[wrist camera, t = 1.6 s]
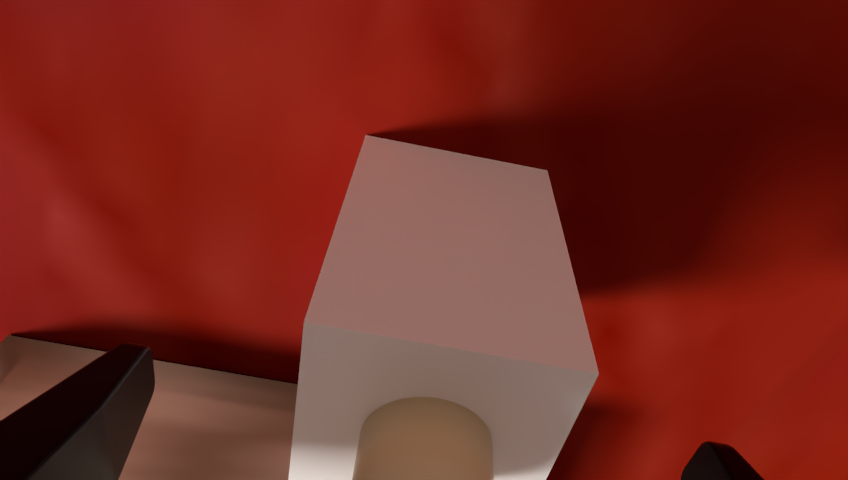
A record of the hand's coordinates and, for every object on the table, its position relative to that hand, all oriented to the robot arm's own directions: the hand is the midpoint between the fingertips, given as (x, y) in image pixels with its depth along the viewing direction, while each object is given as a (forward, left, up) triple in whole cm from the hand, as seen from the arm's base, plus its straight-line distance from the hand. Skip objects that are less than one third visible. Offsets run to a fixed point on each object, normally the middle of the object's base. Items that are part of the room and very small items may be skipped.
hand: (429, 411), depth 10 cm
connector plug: (0, 0, -5) cm, 5 cm away
